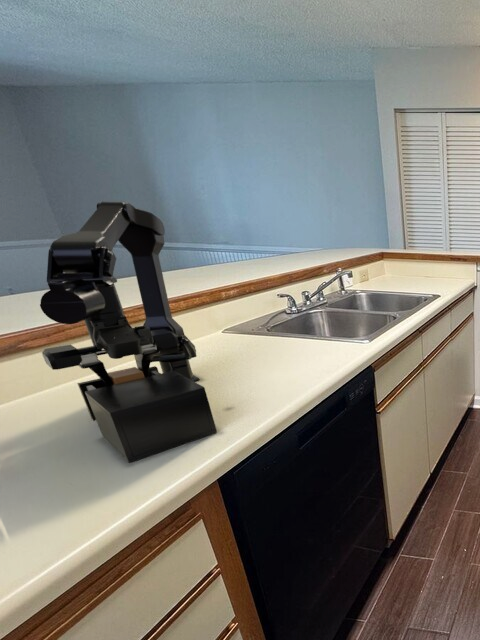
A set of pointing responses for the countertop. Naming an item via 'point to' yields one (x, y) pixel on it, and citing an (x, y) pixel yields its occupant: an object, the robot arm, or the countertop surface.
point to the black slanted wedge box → (151, 414)
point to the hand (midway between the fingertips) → (130, 388)
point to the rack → (99, 384)
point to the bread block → (125, 375)
